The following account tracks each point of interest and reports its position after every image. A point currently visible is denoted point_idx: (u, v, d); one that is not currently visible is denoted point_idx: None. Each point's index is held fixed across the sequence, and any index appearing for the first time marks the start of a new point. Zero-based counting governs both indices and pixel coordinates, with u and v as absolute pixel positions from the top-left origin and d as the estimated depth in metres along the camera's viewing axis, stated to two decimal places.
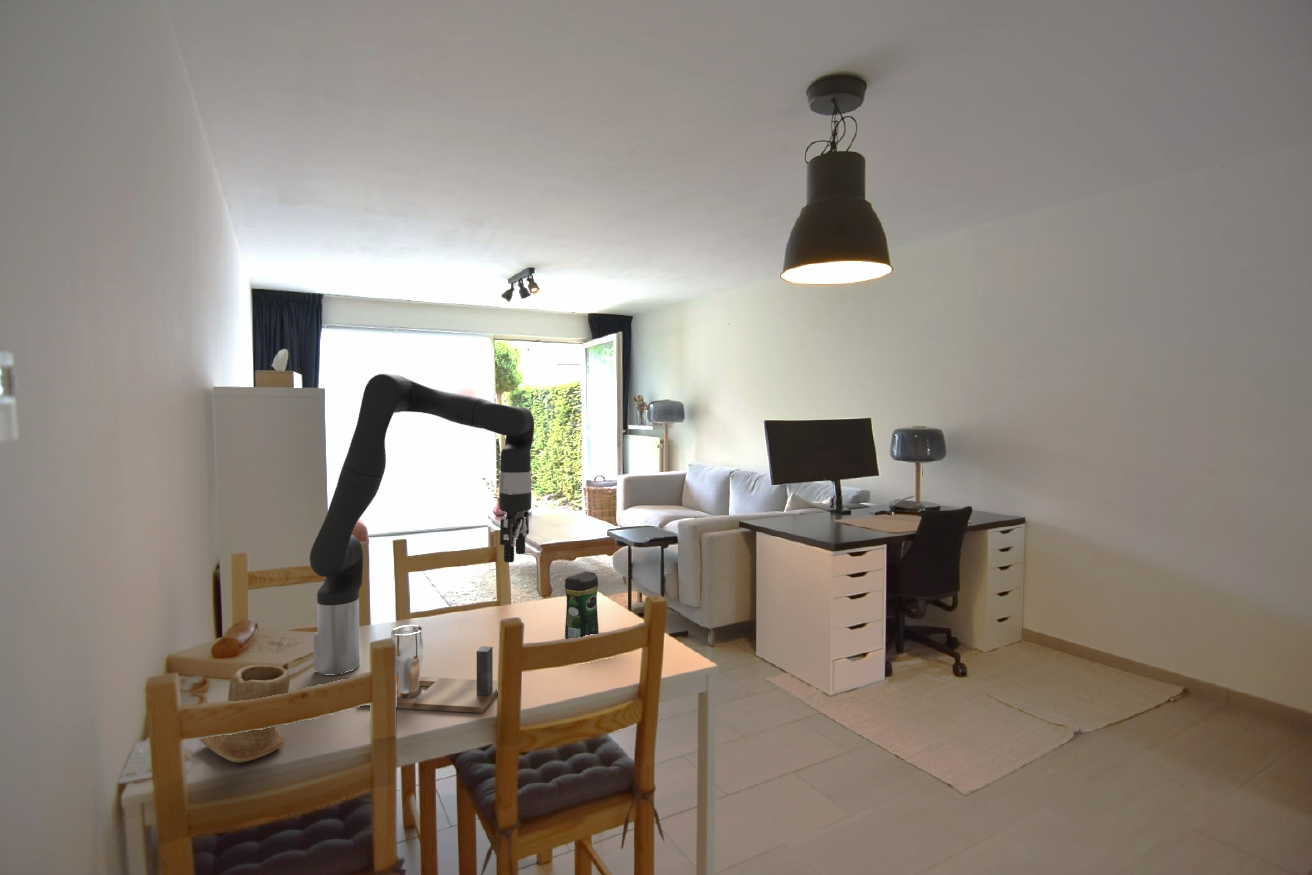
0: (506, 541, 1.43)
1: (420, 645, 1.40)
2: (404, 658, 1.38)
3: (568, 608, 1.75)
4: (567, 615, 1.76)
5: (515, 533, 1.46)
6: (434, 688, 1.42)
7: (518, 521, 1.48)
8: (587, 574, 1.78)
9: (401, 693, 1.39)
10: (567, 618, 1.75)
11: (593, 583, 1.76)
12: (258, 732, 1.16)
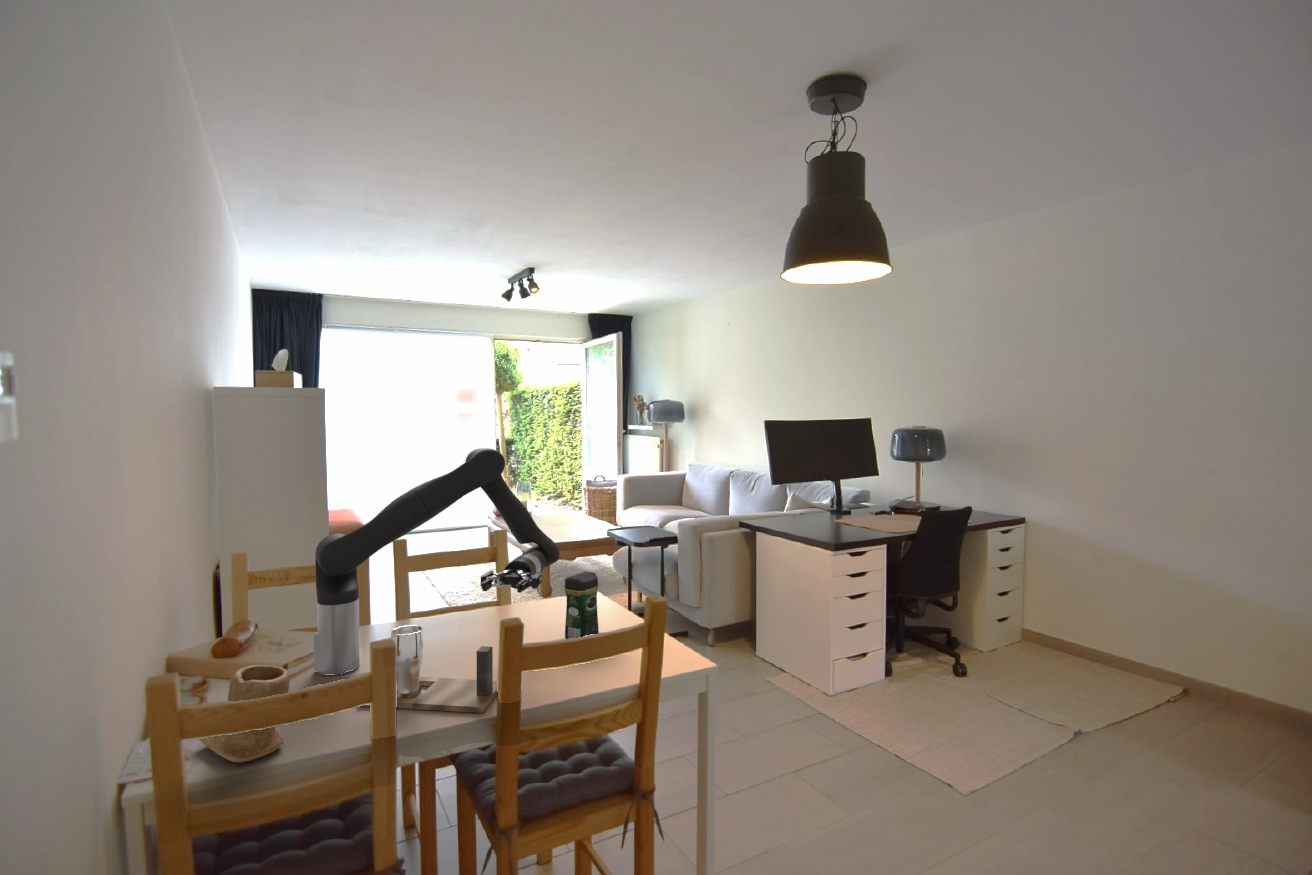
0: None
1: (420, 645, 1.40)
2: (404, 658, 1.38)
3: (568, 608, 1.75)
4: (567, 615, 1.76)
5: None
6: (434, 688, 1.42)
7: None
8: (587, 574, 1.78)
9: (401, 693, 1.39)
10: (567, 618, 1.75)
11: (593, 583, 1.76)
12: (258, 732, 1.16)
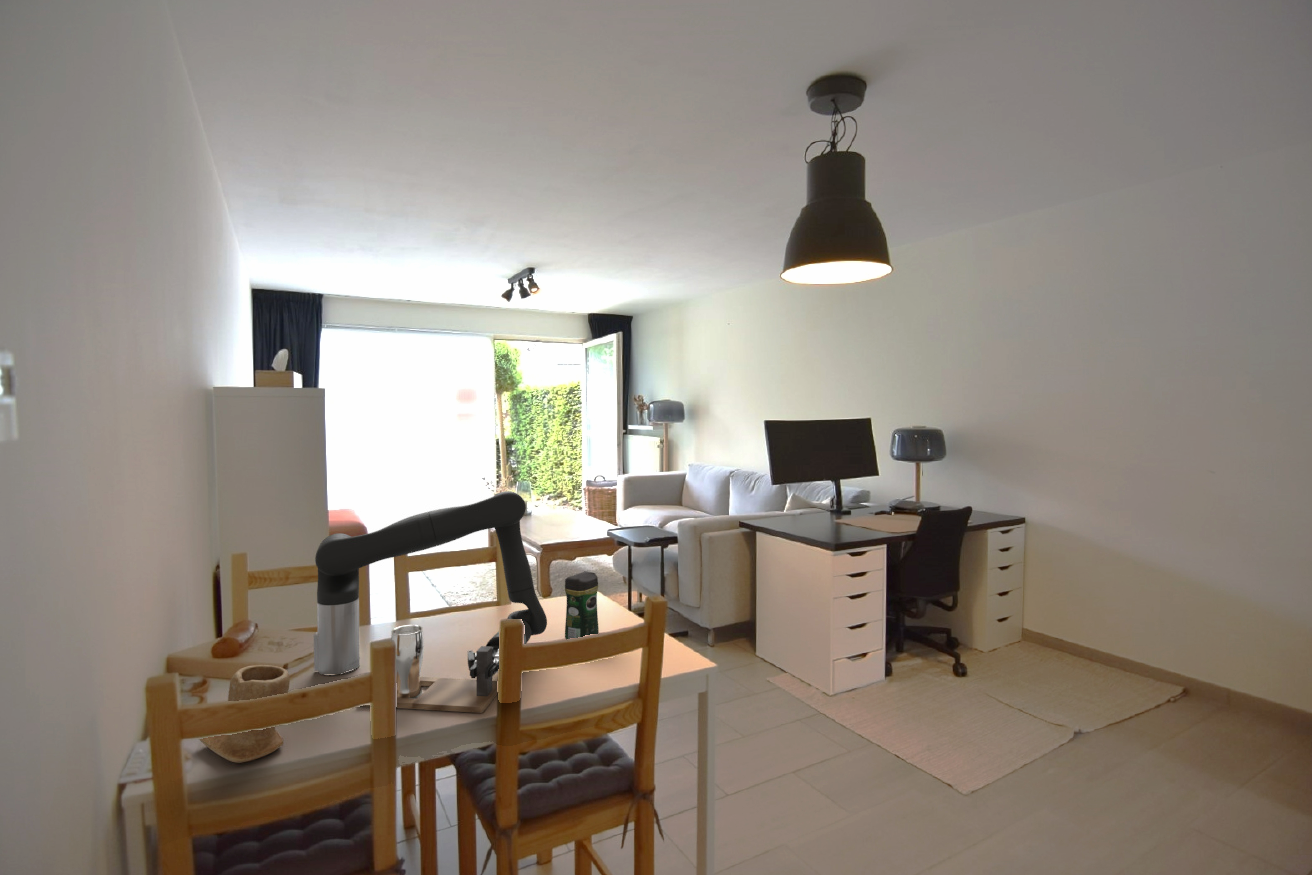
0: None
1: (420, 645, 1.40)
2: (404, 658, 1.38)
3: (568, 608, 1.75)
4: (567, 615, 1.76)
5: None
6: (434, 688, 1.42)
7: None
8: (587, 574, 1.78)
9: (401, 693, 1.39)
10: (567, 618, 1.75)
11: (593, 583, 1.76)
12: (258, 732, 1.16)
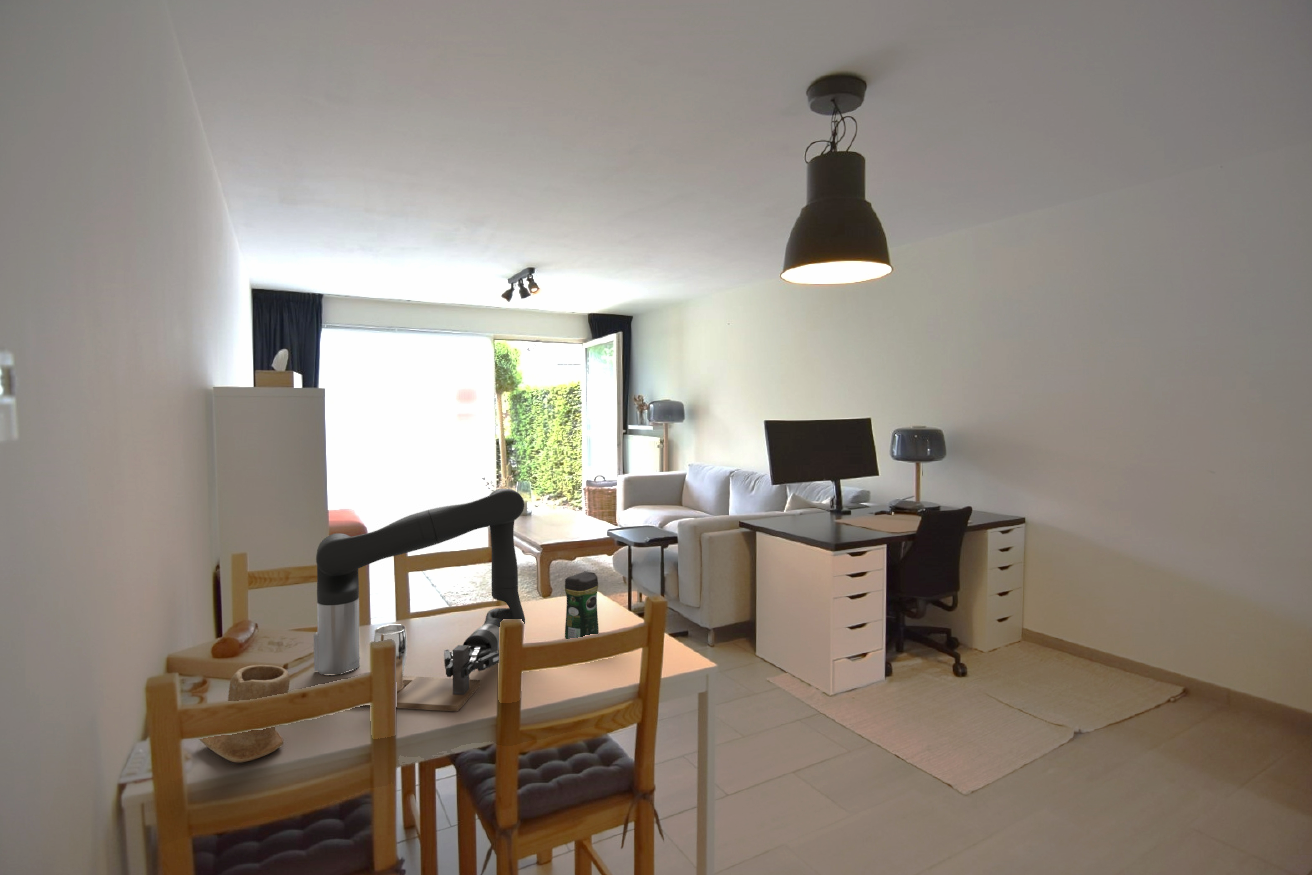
0: (483, 665, 1.42)
1: (403, 644, 1.41)
2: None
3: (568, 608, 1.75)
4: (567, 615, 1.76)
5: None
6: (411, 686, 1.42)
7: None
8: (587, 574, 1.78)
9: None
10: (567, 618, 1.75)
11: (593, 583, 1.76)
12: (258, 732, 1.16)
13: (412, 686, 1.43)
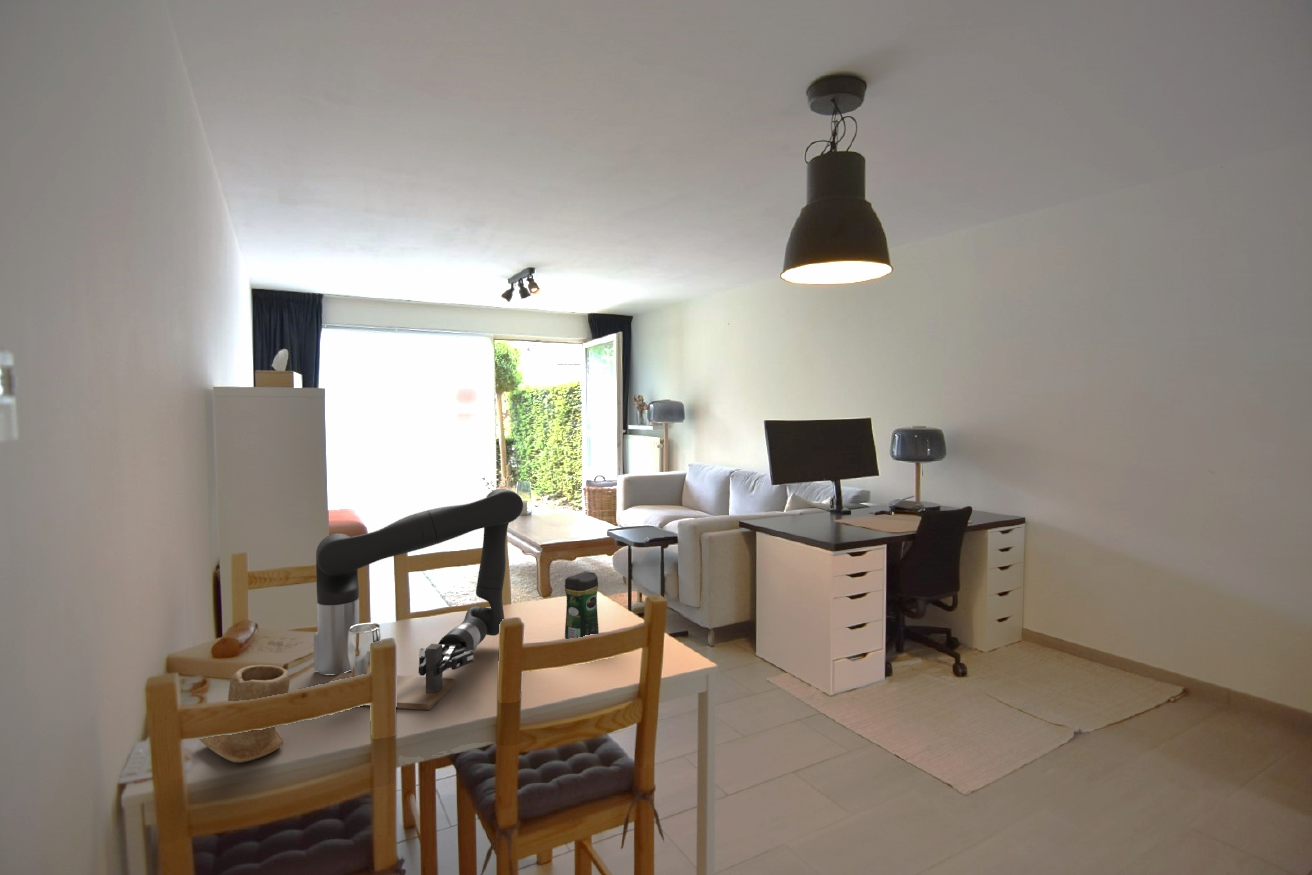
0: (456, 664, 1.42)
1: None
2: (359, 655, 1.39)
3: (568, 608, 1.75)
4: (567, 615, 1.76)
5: None
6: None
7: None
8: (587, 574, 1.78)
9: None
10: (567, 618, 1.75)
11: (593, 583, 1.76)
12: (258, 732, 1.16)
13: None
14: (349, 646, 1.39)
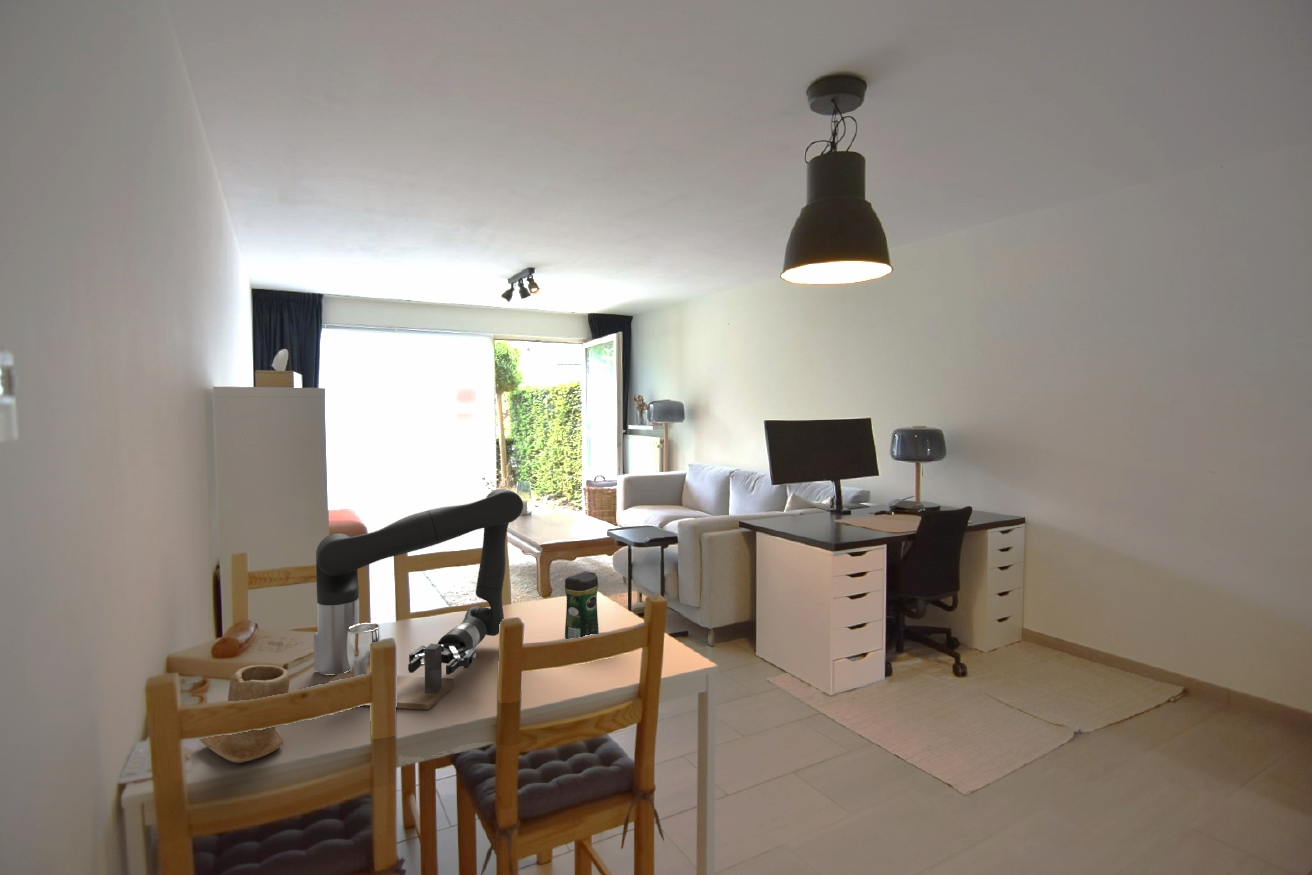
0: None
1: None
2: (358, 656, 1.39)
3: (568, 608, 1.75)
4: (567, 615, 1.76)
5: None
6: None
7: None
8: (587, 574, 1.78)
9: None
10: (567, 618, 1.75)
11: (593, 583, 1.76)
12: (258, 732, 1.16)
13: None
14: (348, 646, 1.39)
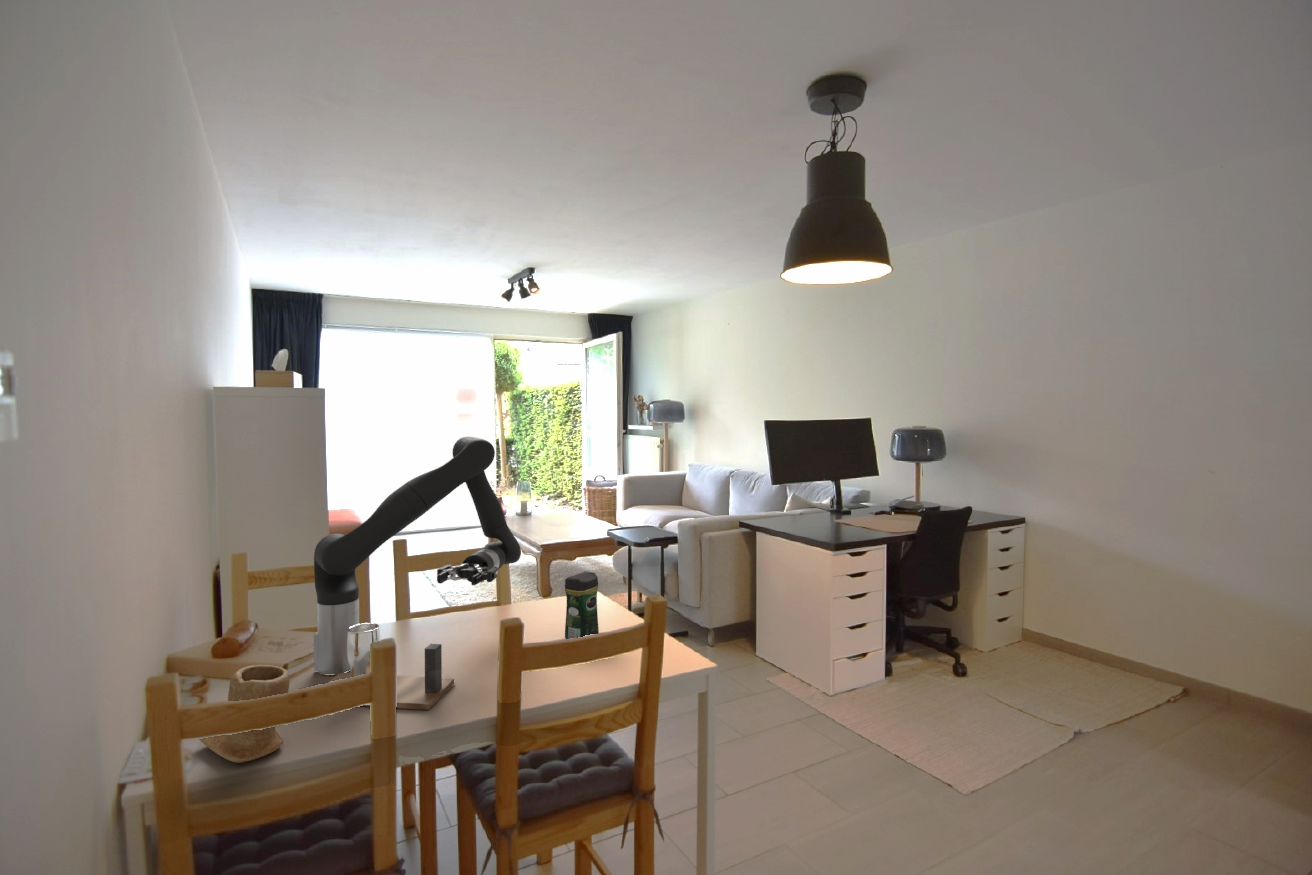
0: None
1: None
2: (358, 656, 1.39)
3: (568, 608, 1.75)
4: (567, 615, 1.76)
5: None
6: None
7: None
8: (587, 574, 1.78)
9: None
10: (567, 618, 1.75)
11: (593, 583, 1.76)
12: (258, 732, 1.16)
13: None
14: (348, 646, 1.39)
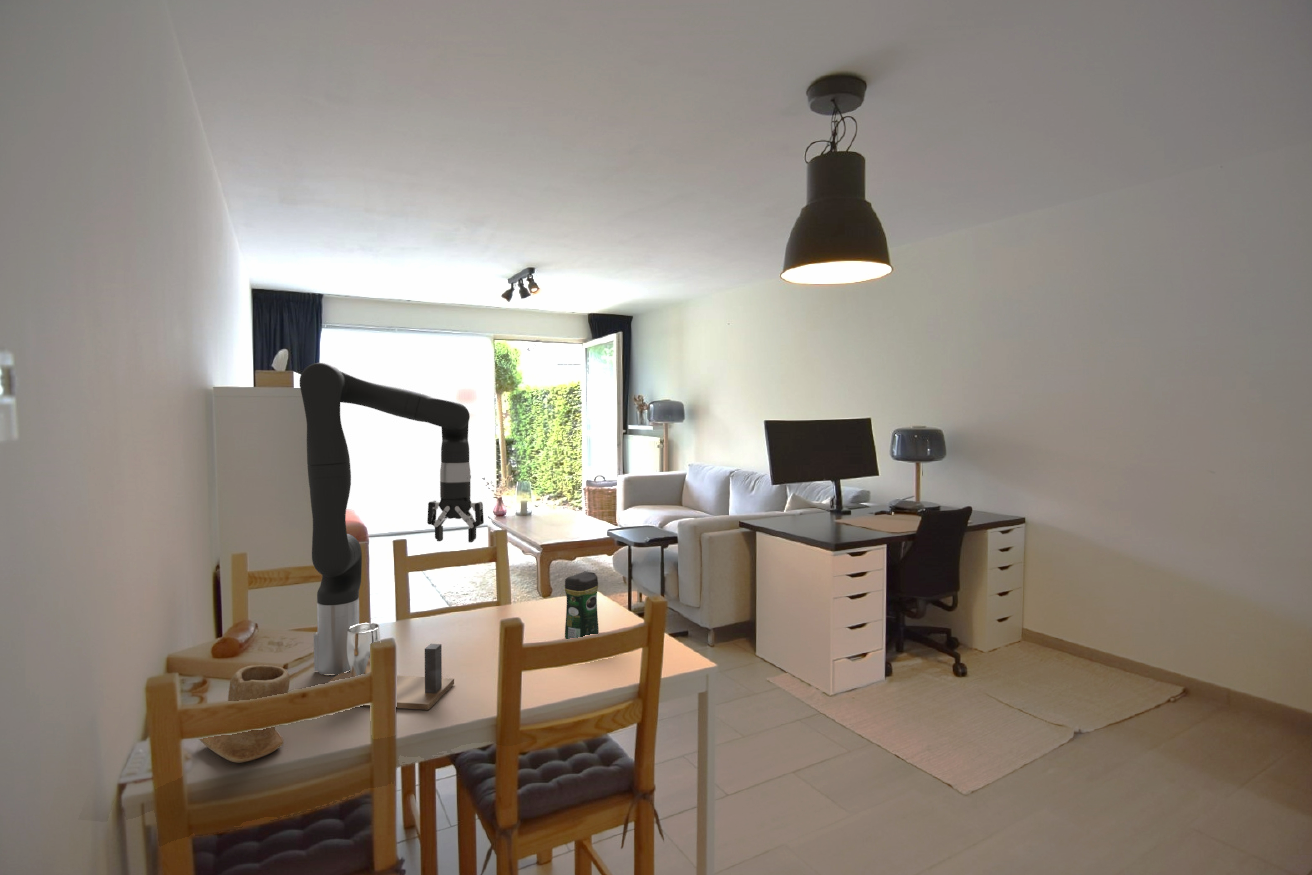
0: (481, 521, 1.63)
1: None
2: (358, 656, 1.39)
3: (568, 608, 1.75)
4: (567, 615, 1.76)
5: (471, 515, 1.65)
6: None
7: None
8: (587, 574, 1.78)
9: None
10: (567, 618, 1.75)
11: (593, 583, 1.76)
12: (258, 732, 1.16)
13: None
14: (348, 646, 1.39)
